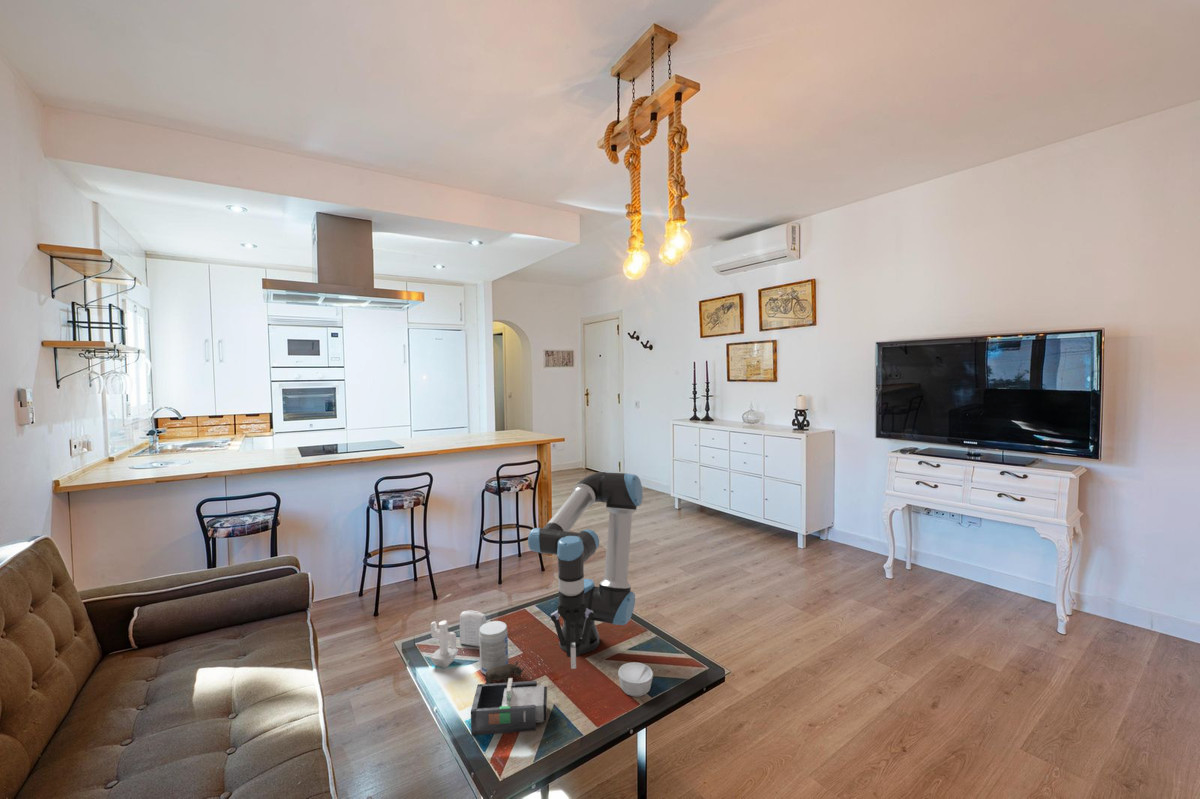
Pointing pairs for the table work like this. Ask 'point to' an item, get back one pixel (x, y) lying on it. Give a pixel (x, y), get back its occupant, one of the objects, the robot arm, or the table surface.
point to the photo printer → (471, 627)
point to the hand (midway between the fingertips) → (573, 665)
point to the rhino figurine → (502, 673)
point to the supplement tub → (493, 645)
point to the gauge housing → (500, 711)
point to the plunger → (527, 698)
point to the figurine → (443, 645)
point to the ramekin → (635, 678)
